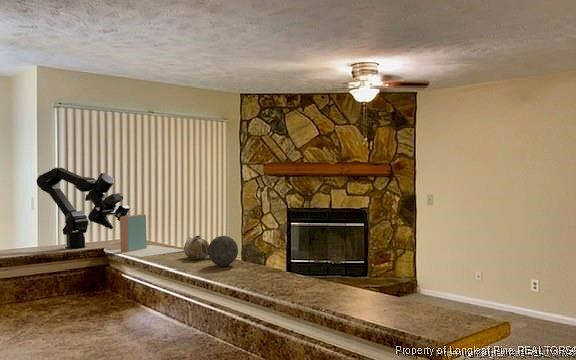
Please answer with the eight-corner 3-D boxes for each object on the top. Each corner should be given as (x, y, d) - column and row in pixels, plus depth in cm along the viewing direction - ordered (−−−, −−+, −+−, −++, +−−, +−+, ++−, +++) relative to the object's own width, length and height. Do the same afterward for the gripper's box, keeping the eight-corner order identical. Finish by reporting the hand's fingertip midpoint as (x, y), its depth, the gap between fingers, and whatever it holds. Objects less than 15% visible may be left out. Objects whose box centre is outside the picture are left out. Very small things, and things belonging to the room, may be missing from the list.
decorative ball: (214, 269, 166) (213, 238, 166) (204, 265, 175) (203, 235, 175) (243, 266, 170) (242, 236, 170) (232, 262, 179) (231, 233, 179)
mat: (141, 258, 192) (141, 257, 192) (107, 252, 210) (107, 250, 210) (186, 251, 206) (186, 250, 206) (150, 246, 224) (150, 245, 224)
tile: (120, 251, 206) (119, 216, 206) (140, 247, 216) (139, 214, 216) (128, 252, 205) (126, 216, 204) (147, 248, 215) (146, 214, 214)
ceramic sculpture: (201, 231, 198) (221, 237, 186) (201, 253, 199) (222, 260, 187) (176, 234, 191) (195, 240, 180) (176, 257, 192) (195, 265, 180)
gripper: (92, 187, 207) (113, 215, 202) (125, 186, 224) (146, 211, 219) (78, 207, 211) (99, 235, 206) (113, 204, 228) (132, 230, 223)
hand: (120, 227), depth 213 cm, fingers open, 9 cm apart
